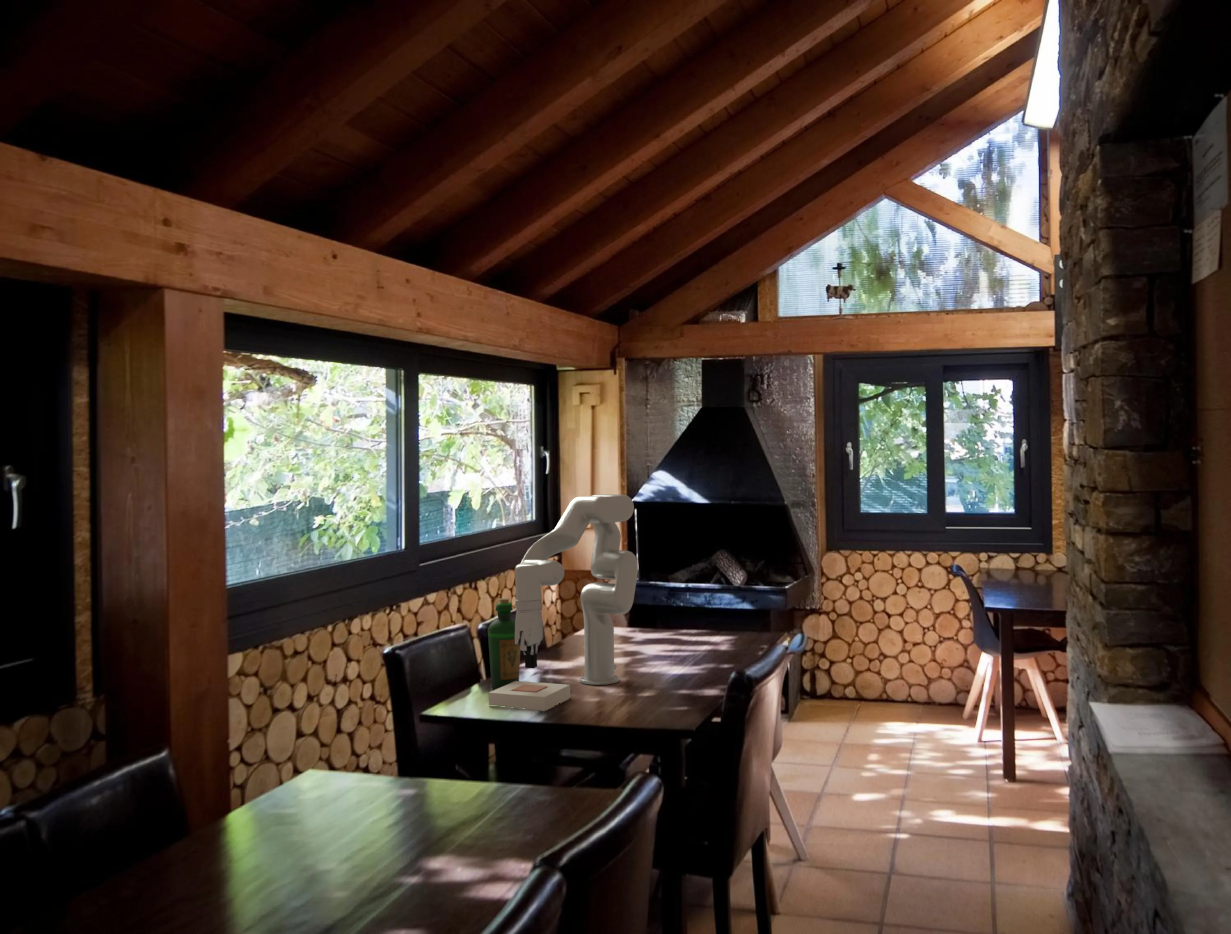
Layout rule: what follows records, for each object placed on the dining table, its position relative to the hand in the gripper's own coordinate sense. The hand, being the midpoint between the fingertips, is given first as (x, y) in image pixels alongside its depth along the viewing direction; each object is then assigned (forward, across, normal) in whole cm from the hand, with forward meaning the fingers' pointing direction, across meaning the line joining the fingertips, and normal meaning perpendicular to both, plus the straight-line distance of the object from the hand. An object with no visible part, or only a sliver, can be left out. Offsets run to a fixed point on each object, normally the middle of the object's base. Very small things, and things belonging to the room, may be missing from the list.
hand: (531, 667), depth 300 cm
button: (+10, +1, 0) cm, 10 cm away
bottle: (+11, -14, -16) cm, 24 cm away
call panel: (+10, +1, 0) cm, 10 cm away
